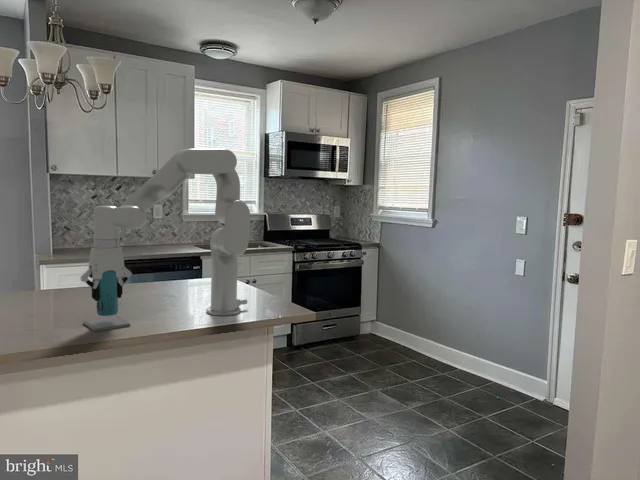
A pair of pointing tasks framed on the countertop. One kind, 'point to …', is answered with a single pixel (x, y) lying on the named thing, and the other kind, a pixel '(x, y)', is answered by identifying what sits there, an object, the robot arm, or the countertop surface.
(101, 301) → the beverage bottle
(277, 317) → the countertop surface
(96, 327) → the plate
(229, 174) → the robot arm
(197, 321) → the countertop surface
